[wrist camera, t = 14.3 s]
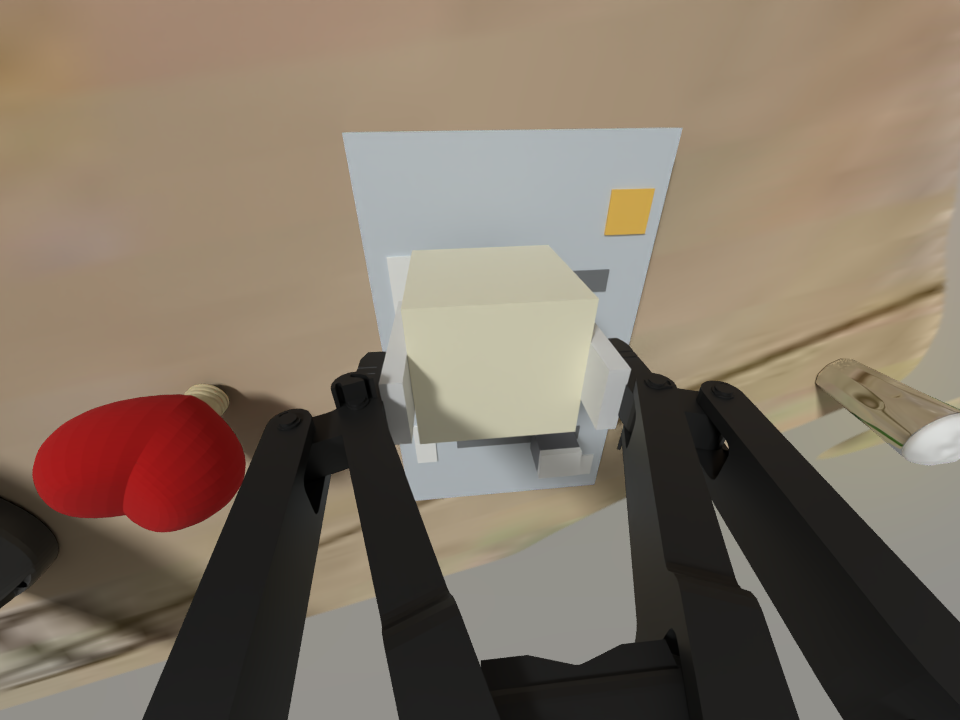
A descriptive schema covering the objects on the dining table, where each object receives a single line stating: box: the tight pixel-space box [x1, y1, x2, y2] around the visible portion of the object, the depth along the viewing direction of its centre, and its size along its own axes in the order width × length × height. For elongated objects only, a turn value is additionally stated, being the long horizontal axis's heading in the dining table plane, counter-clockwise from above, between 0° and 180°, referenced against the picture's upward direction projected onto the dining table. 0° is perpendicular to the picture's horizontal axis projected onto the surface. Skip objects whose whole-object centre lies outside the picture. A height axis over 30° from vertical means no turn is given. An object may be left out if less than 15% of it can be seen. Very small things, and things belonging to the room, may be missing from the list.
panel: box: [342, 128, 682, 501], centre depth 26 cm, size 17×28×2 cm, turn 1°
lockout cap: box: [401, 245, 599, 444], centre depth 17 cm, size 7×6×7 cm
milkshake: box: [816, 359, 960, 466], centre depth 27 cm, size 4×5×10 cm
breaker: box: [530, 432, 582, 479], centre depth 28 cm, size 3×2×3 cm
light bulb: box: [32, 384, 246, 532], centre depth 22 cm, size 9×7×10 cm
